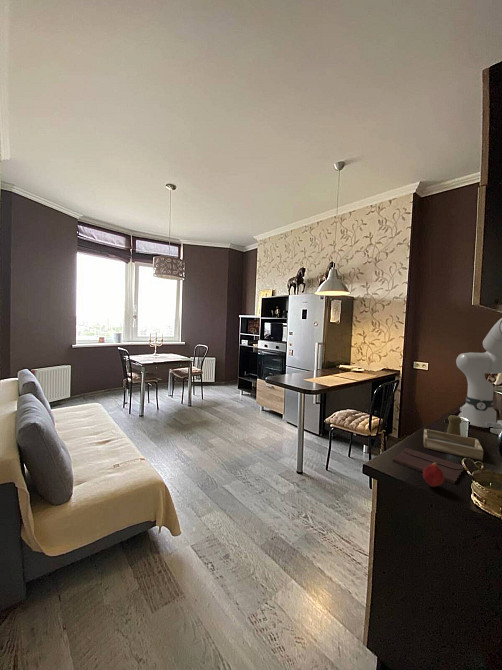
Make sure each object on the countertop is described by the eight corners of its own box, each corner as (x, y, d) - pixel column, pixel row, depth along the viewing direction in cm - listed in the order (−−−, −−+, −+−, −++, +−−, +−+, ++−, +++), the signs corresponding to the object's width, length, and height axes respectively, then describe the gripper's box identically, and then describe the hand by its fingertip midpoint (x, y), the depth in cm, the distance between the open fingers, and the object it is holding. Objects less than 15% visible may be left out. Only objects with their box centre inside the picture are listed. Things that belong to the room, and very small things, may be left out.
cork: (458, 442, 133) (460, 418, 132) (443, 438, 138) (445, 415, 137) (463, 439, 136) (465, 416, 136) (448, 435, 141) (450, 413, 141)
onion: (426, 490, 93) (428, 465, 92) (419, 480, 99) (420, 457, 98) (446, 492, 92) (448, 468, 92) (437, 482, 98) (439, 459, 97)
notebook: (454, 485, 97) (454, 479, 97) (392, 463, 112) (392, 457, 111) (463, 470, 108) (464, 465, 108) (406, 451, 122) (406, 447, 122)
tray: (423, 437, 138) (424, 428, 138) (476, 447, 128) (477, 439, 128) (423, 447, 126) (424, 438, 126) (482, 460, 116) (483, 450, 116)
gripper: (523, 420, 132) (484, 414, 139) (539, 433, 114) (493, 426, 121) (522, 434, 132) (483, 427, 139) (537, 449, 115) (492, 441, 121)
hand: (488, 427), depth 130 cm, fingers open, 8 cm apart
